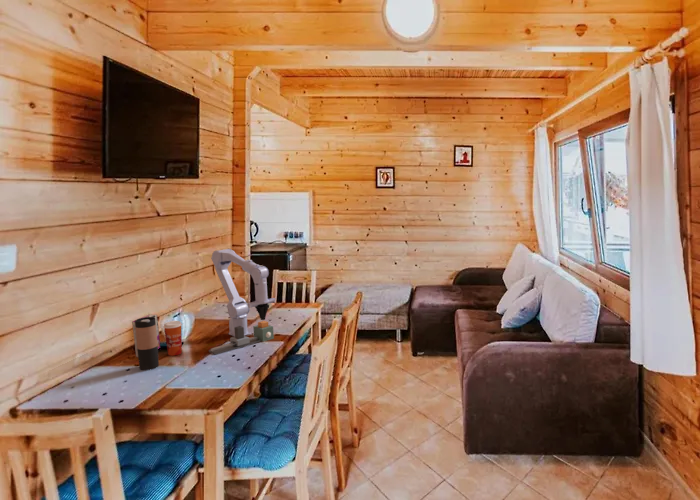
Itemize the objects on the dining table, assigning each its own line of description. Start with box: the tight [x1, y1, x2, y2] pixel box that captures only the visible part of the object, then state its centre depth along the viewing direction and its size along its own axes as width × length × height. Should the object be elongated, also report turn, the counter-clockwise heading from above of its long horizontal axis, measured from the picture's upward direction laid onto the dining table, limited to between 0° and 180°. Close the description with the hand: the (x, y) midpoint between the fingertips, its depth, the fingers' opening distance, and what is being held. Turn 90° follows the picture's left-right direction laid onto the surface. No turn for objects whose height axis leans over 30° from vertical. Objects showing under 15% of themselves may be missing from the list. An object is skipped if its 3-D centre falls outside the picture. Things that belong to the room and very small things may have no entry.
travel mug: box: [134, 317, 160, 371], centre depth 176 cm, size 8×8×20 cm
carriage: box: [229, 326, 250, 346], centre depth 200 cm, size 7×6×7 cm
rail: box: [208, 335, 261, 356], centre depth 199 cm, size 6×23×2 cm, turn 135°
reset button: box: [257, 320, 269, 328], centre depth 209 cm, size 4×4×4 cm
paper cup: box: [162, 320, 183, 357], centre depth 192 cm, size 8×8×14 cm
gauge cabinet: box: [253, 324, 275, 342], centre depth 209 cm, size 8×6×6 cm
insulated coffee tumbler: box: [131, 314, 161, 358], centre depth 193 cm, size 11×5×16 cm, turn 168°
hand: (262, 319), depth 209 cm, fingers closed
